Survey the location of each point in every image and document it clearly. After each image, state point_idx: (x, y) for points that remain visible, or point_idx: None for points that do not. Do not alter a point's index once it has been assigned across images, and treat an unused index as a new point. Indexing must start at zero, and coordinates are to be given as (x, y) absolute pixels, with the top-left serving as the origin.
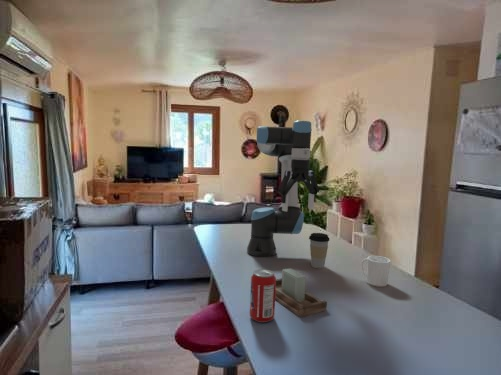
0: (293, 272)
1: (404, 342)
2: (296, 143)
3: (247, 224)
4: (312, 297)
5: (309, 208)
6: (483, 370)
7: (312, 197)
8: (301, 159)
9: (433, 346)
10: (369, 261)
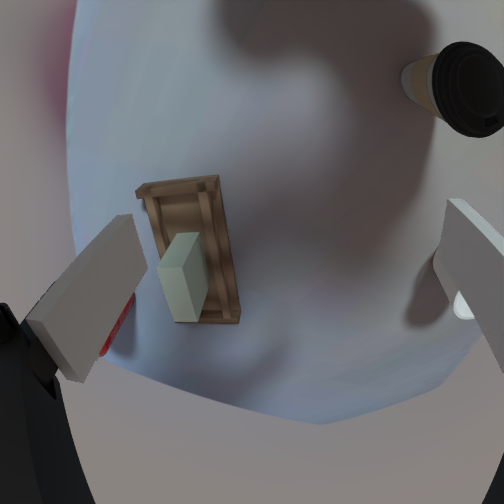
0: (178, 294)
1: (284, 391)
2: None
3: None
4: (220, 301)
5: (446, 223)
6: (311, 423)
7: (488, 340)
8: None
9: (309, 401)
10: (455, 289)
